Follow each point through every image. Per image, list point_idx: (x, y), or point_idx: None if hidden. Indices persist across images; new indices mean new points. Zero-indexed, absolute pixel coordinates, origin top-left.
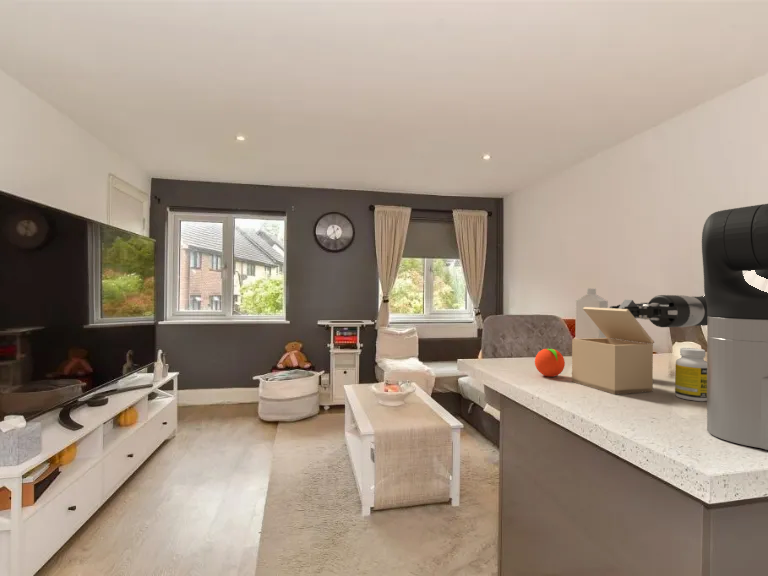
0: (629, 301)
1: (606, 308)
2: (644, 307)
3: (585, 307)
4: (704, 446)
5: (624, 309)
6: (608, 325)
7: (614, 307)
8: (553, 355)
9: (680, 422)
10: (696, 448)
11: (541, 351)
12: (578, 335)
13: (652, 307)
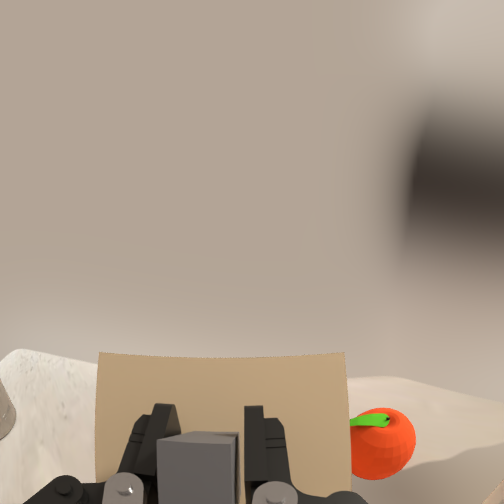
0: (177, 440)
1: (203, 358)
2: (106, 501)
3: (331, 353)
4: (17, 380)
5: (112, 353)
6: None
7: (244, 419)
8: (353, 426)
9: (40, 424)
10: (22, 373)
11: (381, 408)
12: (493, 491)
13: (52, 485)
